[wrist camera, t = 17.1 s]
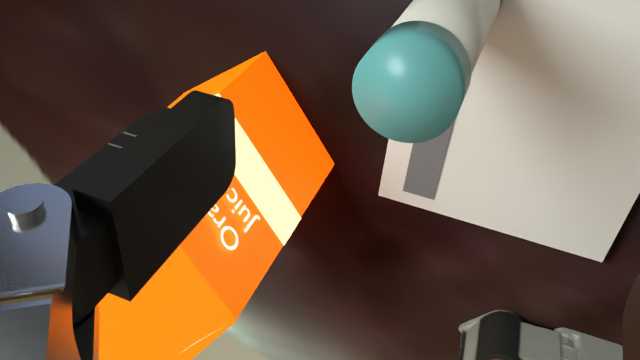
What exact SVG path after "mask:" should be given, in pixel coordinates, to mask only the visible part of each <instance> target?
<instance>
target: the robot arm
mask: <svg viewBox="0 0 640 360" xmlns="http://www.w3.org/2000/svg"><path fill="white" fill-rule="evenodd" d="M235 168H236V146H235V112H234V105H233V103H232V101H231V100H229V99H226V98H222V97H219V96H215V95H211V94H208V93H204V92H201V91H197V90H194V91H191V92H190V93H189V94H187V95H186V96H185V97H184V98H182V99H181V100H180V101H179V102H178V103H176V104H175V105H174V106H173V107H171V108H167V107H164V108H162V109H159V110H157V111H154V112H152V113H149V114H147V115H144V116H142V117H140V118H139V119H138V120H136V121H135V122H134V123H133V124H131V125H130V126H129V127H127V128H126V129H125V130H124V132H123V134H119V135H117V136H116V137H115V138H114V139H112V140H111V141H110V142H109V145H108V146H107V145H105V146H103V147H102V148H101V149H100V150H98V151H97V152H96V153H94V154H93V155H92V156H91V157H89V158H88V159H87V160H86V161H84V162H83V163H82V164H81V165H79V166H78V167H77V168H75V169H74V170H73V171H72V172H70V173H69V174H68V175H67V176H65V177H64V178H63V179H61V180H60V181H59V182H58V183H56V184H55V185H50V184H43V183H41V184H40V183H34V184H25V185H20V186H16V187H13V188H10V189H7V190H5V191H3V192H0V360H99V326H100V311H99V306H98V303H99V302H100V301H101V300H102V299H103V298H104V297H105V296H106V295H107V294H108V293H110V294H112V295H115V296H117V297H120V298H122V299H125V300H127V301H130V302H131V301H132V300H133V298H134V297H135V296H136V295H137V294H138V293H139V291H140V290H141V289H142V288H143V287H144V286H145V285H146V283H147V282H148V281H149V280H150V279H151V278H152V277H153V275H154V274H155V273H156V272H157V271H158V270H159V268H160V267H161V266H162V265H163V264H164V263H165V262H166V260H167V259H168V258H169V257H170V256H171V255H172V254H173V252H174V251H175V250H176V249H177V248H178V247H179V245H180V244H181V243H182V242H183V241H184V240H185V239H186V237H187V236H188V235H189V234H190V233H191V232H192V230H193V229H194V228H195V227H196V226H197V225H198V224H199V222H200V221H201V220H202V219H203V218H204V217H205V216H206V214H207V213H208V212H209V211H210V210H211V209H212V207H213V206H214V205H215V204H216V203H217V202H218V201H219V199H220V198H221V197H222V196H223V195H224V194H225V192H226V191H227V190H228V188H229V186H230V184H231V182H232V180H233V177H234V173H235ZM623 360H640V275H639V276H638V278H637V280H636V281H635V283H634V285H633V287H632V289H631V291H630V293H629V296H628V298H627V301H626V305H625V309H624V314H623Z"/></svg>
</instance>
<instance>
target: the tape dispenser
mask: <svg viewBox="0 0 640 360" xmlns="http://www.w3.org/2000/svg"><path fill="white" fill-rule="evenodd" d="M458 330H459V331H460V332H461V333H462V334H461V343H460V347H461V348H460V350H459V357H458V360H623V346H621V345H618V344H615V343H612V342H609V341H606V340H602V339H599V338H596V337H593V336H590V335H587V334H584V333H580V332H577V331H574V330H571V329H567V328H563V327H562V328H557V329H554V330H553V331H552V330H549V329H545V328H541V327H537V326H534V325H530V324H527V323H524V321H523V320H522V319H521V318H520V317H519V316H518V315H516V314H514V313H513V312H511V311H506V310H495V311H491V312H489V313H487V314H484V315H482V316H480V317H477V318H475V319H472V320H470V321H467V322H465V323H462V324H461V325H459V328H458Z"/></svg>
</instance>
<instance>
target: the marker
mask: <svg viewBox="0 0 640 360" xmlns="http://www.w3.org/2000/svg"><path fill="white" fill-rule="evenodd" d="M502 2H503V0H413V1H412V3H411V4H410V5H409V6H408V8H407V9H406V10H405V11H404V12H403V14H402V15H401V16H400V17H399V19H398V20H397V21H396V22H395V23H394V25H393V26H392V27H391V28H390V29H388V30H387V31H386V32H384V33H383V34H382V35H381V36H380V37H379V39H378V40H377V41H376V42H375V43H374V45H373V46H372V47H371V48H370V49H369V51H368V52H367V53H366V54H365V55H364V57H363V58H362V59H361V61H360V62H359V64H358V65H357V67H356V70H355V72H354V76H353V80H352V94H353V99H354V102H355V105H356V108H357V110H358V112H359V113H360V115H361V117H362V118H363V119H364V121H365V122H366V123H367V124H368V125H369V126H370V127H371V128H372V129H374V130H375V131H376V132H378V133H379V134H381V135H382V136H384V137H386V138H389V139H391V140H394V141H398V142H403V143H420V142H425V141H429V140H432V139H434V138H436V137H438V136H440V135H441V134H442V133H444V132H445V131H446V130H447V129H448V128H449V127H450V126H451V125H452V123H453V122H454V121H455V119H456V117H457V115H458V113H459V110H460V108H461V105H462V103H463V101H464V98H465V96H466V93H467V91H468V88H469V86H470V81H471V75H472V72H473V70H474V68H475V65H476V63H477V61H478V58H479V56H480V54H481V51H482V49H483V47H484V44H485V42H486V40H487V37H488V35H489V33H490V30H491V28H492V26H493V23H494V21H495V19H496V16H497V14H498V12H499V9H500V7H501V5H502Z"/></svg>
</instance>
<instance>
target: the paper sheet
mask: <svg viewBox="0 0 640 360" xmlns="http://www.w3.org/2000/svg"><path fill="white" fill-rule="evenodd" d="M639 193H640V0H503V2H502V5H501V7H500V9H499V12H498V14H497V16H496V19H495V21H494V23H493V26H492V28H491V30H490V33H489V35H488V37H487V40H486V42H485V44H484V47H483V49H482V51H481V54H480V56H479V58H478V61H477V63H476V65H475V68H474V70H473V72H472V75H471V81H470V86H469V88H468V91H467V93H466V96H465V98H464V101H463V103H462V105H461V108H460V110H459V113H458V115H457V117H456V119H455V121H454V122H453V123H452V125H451V126H450V127H449V128H448V129H447V130H446V131H445V132H444V133H442V134H441V135H440V136H438V137H436V138H434V139H432V140H429V141H425V142H420V143H403V142H398V141H394V140H391V139H389V141H388V146H387V151H386V157H385V162H384V167H383V173H382V178H381V183H380V189H379V194H378V195H379V196H382V197H386V198H389V199H392V200H396V201H399V202H402V203H406V204H409V205H412V206H416V207H419V208H422V209H426V210H429V211H432V212H436V213H439V214H442V215H446V216H449V217H452V218H456V219H459V220H462V221H466V222H469V223H472V224H476V225H479V226H482V227H486V228H489V229H492V230H496V231H499V232H502V233H506V234H509V235H512V236H516V237H519V238H522V239H526V240H529V241H532V242H536V243H539V244H542V245H546V246H549V247H552V248H556V249H559V250H562V251H566V252H569V253H572V254H576V255H579V256H582V257H586V258H589V259H592V260H596V261H599V262H603V260H604V258H605V256H606V254H607V252H608V251H609V249H610V247H611V245H612V243H613V241H614V239H615V238H616V236H617V234H618V232H619V230H620V228H621V226H622V225H623V223H624V221H625V219H626V217H627V215H628V213H629V211H630V210H631V208H632V206H633V204H634V202H635V200H636V198H637V197H638V195H639Z"/></svg>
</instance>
